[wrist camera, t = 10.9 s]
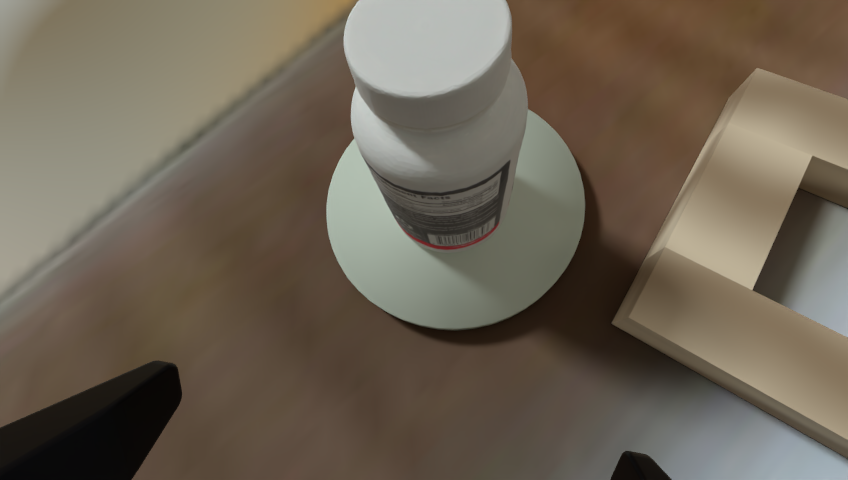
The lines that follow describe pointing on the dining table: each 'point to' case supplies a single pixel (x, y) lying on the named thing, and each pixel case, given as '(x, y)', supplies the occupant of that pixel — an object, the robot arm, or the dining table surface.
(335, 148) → the dining table surface
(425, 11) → the pill bottle
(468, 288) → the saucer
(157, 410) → the robot arm
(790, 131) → the socket block
